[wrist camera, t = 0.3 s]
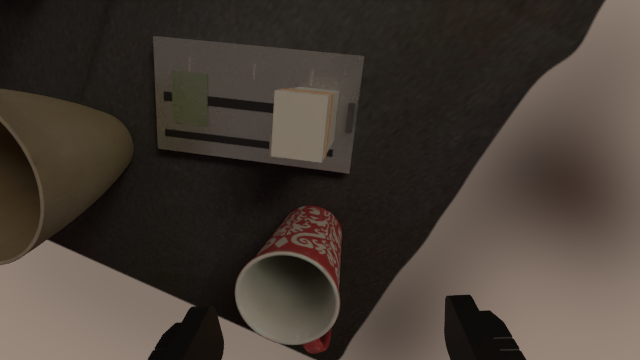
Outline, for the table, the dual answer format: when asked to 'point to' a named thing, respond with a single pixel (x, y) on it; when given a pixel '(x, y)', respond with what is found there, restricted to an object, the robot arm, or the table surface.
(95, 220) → the table surface
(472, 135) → the table surface
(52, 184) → the plant pot
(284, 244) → the mug
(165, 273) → the table surface
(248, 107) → the console
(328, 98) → the fader knob
